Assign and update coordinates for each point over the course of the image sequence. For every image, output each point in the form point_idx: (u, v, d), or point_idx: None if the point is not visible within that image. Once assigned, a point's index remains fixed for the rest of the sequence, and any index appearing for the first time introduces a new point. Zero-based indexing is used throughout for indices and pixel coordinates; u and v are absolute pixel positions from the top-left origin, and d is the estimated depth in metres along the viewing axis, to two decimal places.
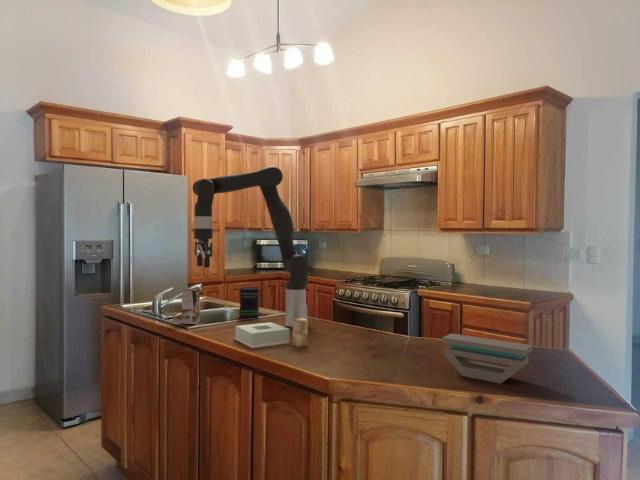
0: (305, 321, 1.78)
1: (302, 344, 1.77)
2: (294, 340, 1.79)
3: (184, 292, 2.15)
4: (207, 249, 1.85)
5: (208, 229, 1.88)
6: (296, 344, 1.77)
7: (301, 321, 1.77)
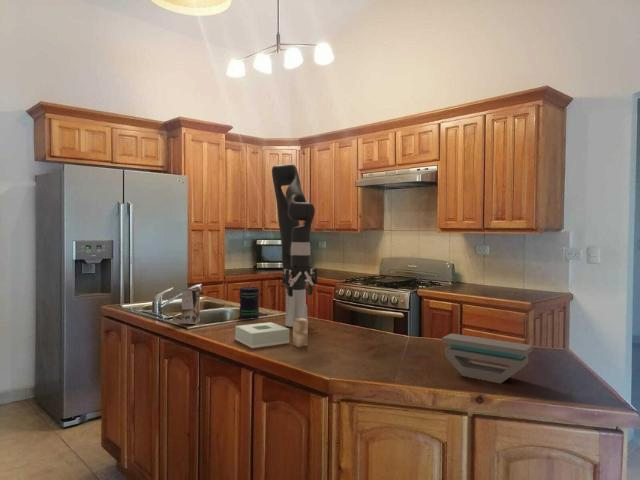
0: (305, 321, 1.78)
1: (302, 344, 1.77)
2: (294, 340, 1.79)
3: (184, 292, 2.15)
4: None
5: None
6: (296, 344, 1.77)
7: (301, 321, 1.77)
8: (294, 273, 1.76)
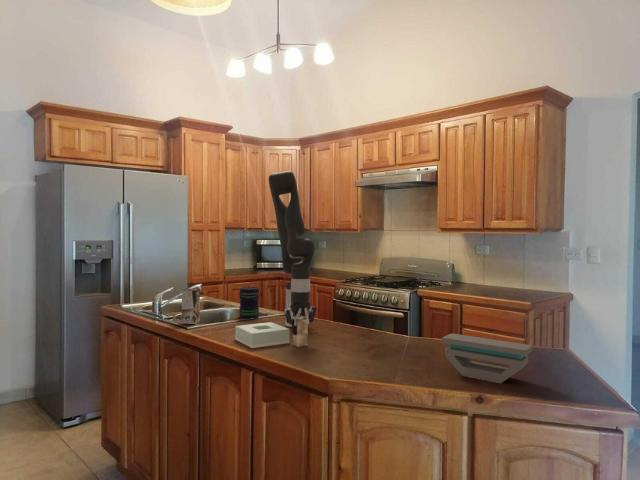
0: (305, 321, 1.78)
1: (302, 344, 1.77)
2: (294, 340, 1.79)
3: (184, 292, 2.15)
4: None
5: None
6: (296, 344, 1.77)
7: (301, 321, 1.77)
8: (294, 312, 1.77)
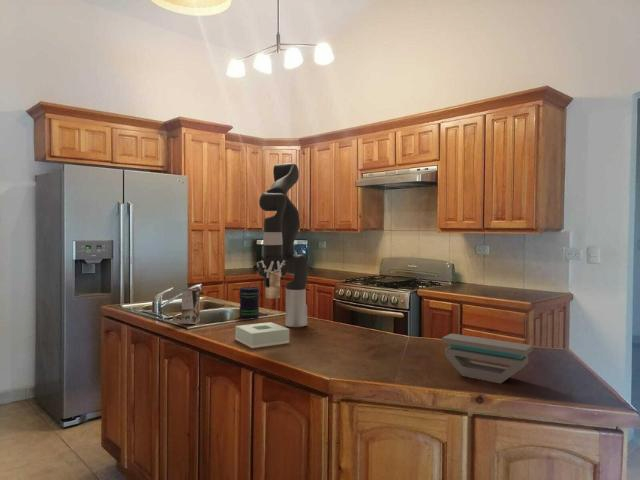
0: (277, 274, 1.82)
1: (275, 296, 1.81)
2: (267, 293, 1.83)
3: (184, 292, 2.15)
4: None
5: None
6: (269, 296, 1.81)
7: (273, 274, 1.81)
8: (267, 264, 1.80)
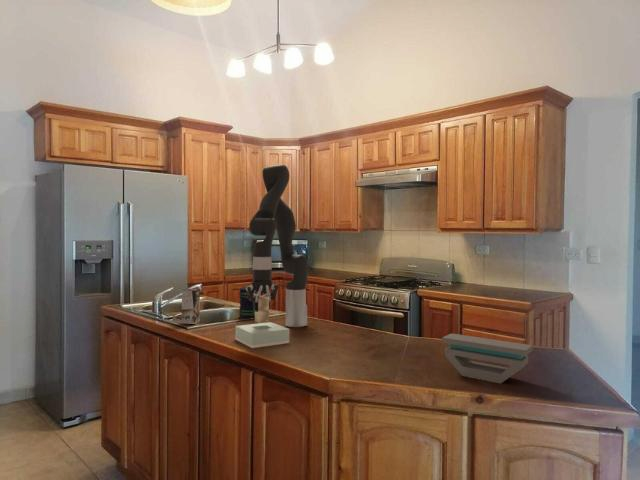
0: (266, 298, 1.83)
1: (263, 320, 1.83)
2: (256, 317, 1.84)
3: (184, 292, 2.15)
4: None
5: None
6: (257, 320, 1.83)
7: (262, 298, 1.82)
8: (256, 289, 1.82)
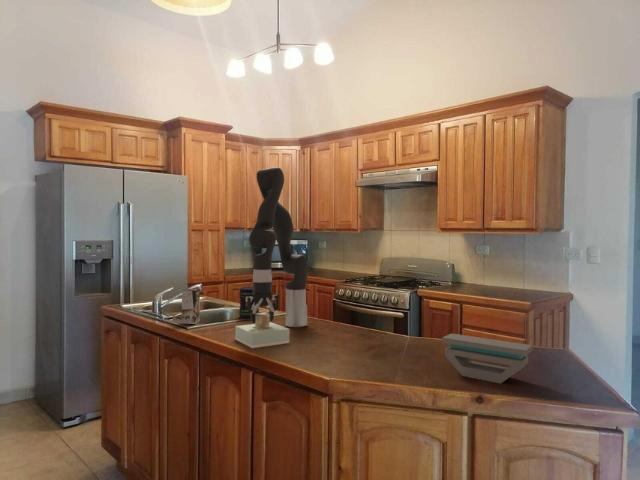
0: (267, 315, 1.84)
1: None
2: None
3: (184, 292, 2.15)
4: None
5: None
6: None
7: (263, 315, 1.83)
8: (256, 300, 1.82)
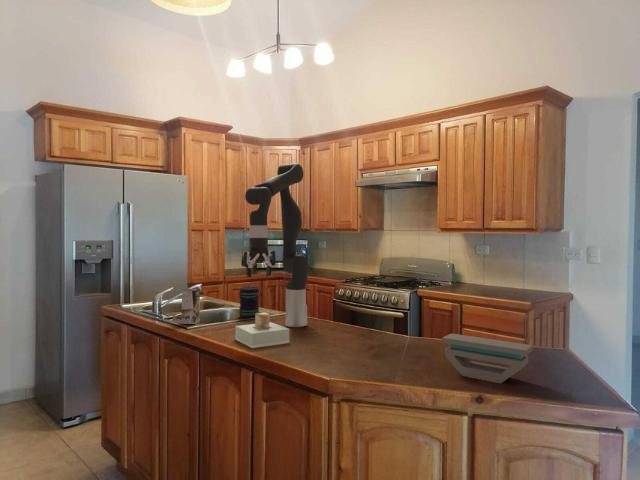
0: (267, 315, 1.84)
1: None
2: None
3: (184, 292, 2.15)
4: None
5: None
6: None
7: (263, 315, 1.83)
8: (252, 255, 1.84)
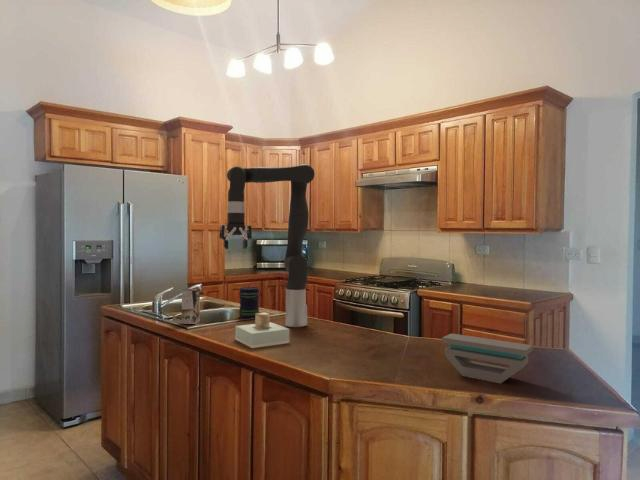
0: (267, 315, 1.84)
1: None
2: None
3: (184, 292, 2.15)
4: None
5: None
6: None
7: (263, 315, 1.83)
8: (229, 228, 2.02)
